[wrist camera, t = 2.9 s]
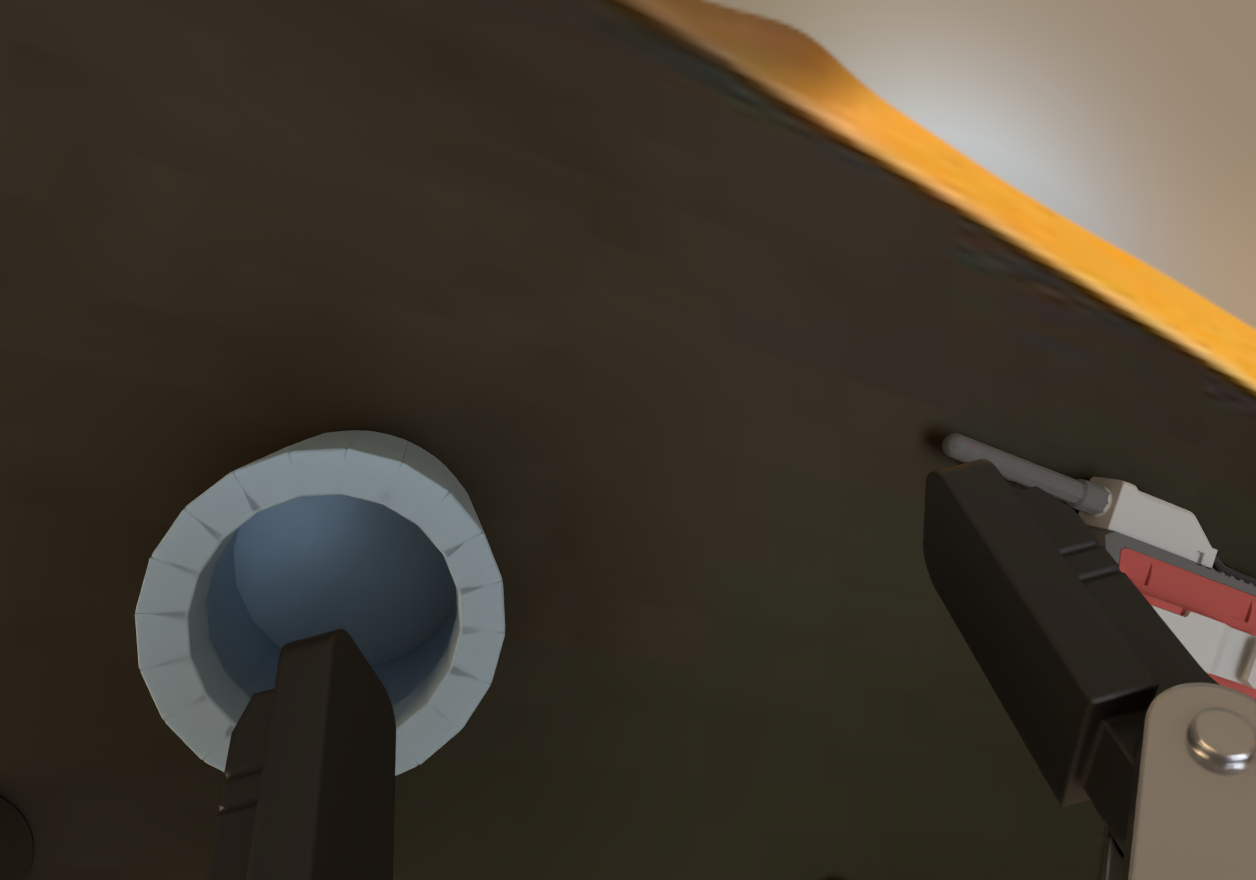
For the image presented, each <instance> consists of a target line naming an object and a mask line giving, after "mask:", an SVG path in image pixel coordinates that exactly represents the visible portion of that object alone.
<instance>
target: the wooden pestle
mask: <svg viewBox="0 0 1256 880" xmlns="http://www.w3.org/2000/svg"><path fill="white" fill-rule="evenodd" d="M32 859H33V839H32V835H31V831H30V829H29V827H28V824H27V822H26V821H25V819H24V818H23V816H22V815H21V814H20V813H19V811H18V810H17V809H16V808H15V807H13V806H12V805H11V804H10V803H8V802H7V801H5V800H4V799H2V798H0V880H25V879H26V877H27V875H28V873H29V870H30V867H31V864H32Z"/></svg>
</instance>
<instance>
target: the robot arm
mask: <svg viewBox="0 0 1256 880" xmlns="http://www.w3.org/2000/svg"><path fill="white" fill-rule="evenodd" d="M923 550H924V557H925V562H926V566H927V569H928V572H929V575H930V578H931V580H932V582H933V585H934V587H935V589H936V591H937V592H938V594H939V596H940V598H941V599H942V601H943V603H944V605H945V606H946V608H947V610H948V611H949V613H950V615H951V617H952V618H953V620H954V622H955V624H956V625H957V627H958V629H959V630H960V632H961V634H962V636H963V637H964V639H965V641H966V643H967V644H968V646H969V648H970V650H971V651H972V653H973V655H974V656H975V658H976V660H977V662H978V663H979V665H980V667H981V669H982V670H983V672H984V674H985V675H986V677H987V679H988V681H989V682H990V684H991V686H992V688H993V689H994V691H995V693H996V694H997V696H998V698H999V700H1000V701H1001V703H1002V705H1003V707H1004V708H1005V710H1006V712H1007V713H1008V715H1009V717H1010V719H1011V720H1012V722H1013V724H1014V726H1015V727H1016V729H1017V731H1018V732H1019V734H1020V736H1021V738H1022V739H1023V741H1024V743H1025V745H1026V746H1027V748H1028V750H1029V751H1030V753H1031V755H1032V757H1033V758H1034V760H1035V762H1036V764H1037V765H1038V767H1039V769H1040V771H1041V772H1042V774H1043V776H1044V777H1045V779H1046V781H1047V783H1048V784H1049V786H1050V788H1051V790H1052V791H1053V793H1054V795H1055V796H1056V798H1057V800H1058V802H1059V803H1060V805H1061V807H1065V806H1069V805H1073V804H1076V803H1080V802H1084V801H1087V800H1091V801H1092V803H1093V805H1094V806H1095V808H1096V810H1097V811H1098V813H1099V815H1100V816H1101V818H1102V820H1103V821H1104V823H1105V824H1106V825H1105V829H1104V833H1103V840H1102V848H1101V856H1100V864H1099V872H1098V879H1097V880H1256V699H1254V698H1252V697H1251V696H1249V695H1247V694H1244V693H1242V692H1240V691H1238V690H1235V689H1232V688H1229V687H1226V686H1222V685H1220V684H1218V683H1217V682H1216V681H1215V680H1214V679H1213V678H1211V677H1210V676H1209V675H1208V674H1207V673H1206V672H1205V671H1204V670H1203V668H1202V667H1201V666H1200V665H1199V664H1198V663H1197V661H1196V660H1195V659H1194V658H1193V656H1192V655H1191V654H1190V653H1189V651H1188V650H1187V649H1186V648H1185V647H1184V645H1183V644H1182V643H1181V642H1180V640H1179V639H1178V638H1177V637H1176V635H1175V634H1174V633H1173V632H1172V630H1171V629H1170V628H1169V627H1168V625H1167V624H1166V623H1165V622H1164V621H1163V619H1162V618H1161V617H1160V616H1159V614H1158V613H1157V612H1156V611H1155V609H1154V608H1153V607H1152V606H1151V604H1150V603H1149V602H1148V601H1147V599H1146V598H1145V597H1144V596H1143V594H1142V593H1141V592H1140V591H1139V590H1138V588H1137V587H1136V586H1135V585H1134V583H1133V582H1132V581H1131V580H1130V578H1129V577H1128V576H1127V575H1126V573H1125V572H1124V573H1122V572H1121V571H1120V568H1119V565H1118V563H1117V562H1116V561H1115V560H1114V559H1113V557H1112V556H1111V555H1110V554H1109V552H1108V551H1107V550H1106V549H1105V547H1104V546H1103V547H1101V546H1100V544H1099V540H1098V539H1097V537H1096V536H1095V535H1094V534H1093V532H1092V531H1091V530H1090V529H1089V528H1088V526H1087V525H1086V524H1085V523H1084V521H1083V520H1082V519H1081V518H1080V516H1079V515H1078V514H1077V513H1076V511H1075V510H1074V509H1073V508H1071V507H1069V506H1068V505H1066V504H1065V503H1063V502H1061V501H1060V500H1058V499H1057V498H1055V497H1053V496H1052V495H1050V494H1049V493H1047V492H1045V491H1044V490H1042V489H1041V488H1039V487H1037V486H1034V487H1031V488H1027V489H1023V490H1019V491H1016V492H1014V490H1013V489H1012V488H1011V486H1010V485H1009V484H1008V482H1007V481H1006V480H1005V478H1004V477H1003V476H1002V474H1001V473H1000V472H999V470H998V469H997V468H996V466H995V465H994V464H993V463H992V462H991V461H989V460H987V459H979V460H975V461H972V462H968V463H964V464H960V465H957V466H953V467H949V468H945V469H942V470H938V471H934V472H931V473H929V474H928V476H927V479H926V493H925V515H924V537H923ZM395 764H396V723H395V716H394V711H393V707H392V703H391V700H390V697H389V695H388V692H387V690H386V688H385V687H384V685H383V684H382V682H381V681H380V679H379V678H378V676H377V675H376V673H375V672H374V670H373V669H372V667H371V666H370V664H369V663H368V661H367V660H366V658H365V657H364V655H363V654H362V652H361V651H360V649H359V648H358V646H357V645H356V643H355V642H354V641H353V639H352V638H351V636H350V635H349V633H348V632H347V631H346V630H344V629H337V630H333V631H329V632H326V633H322V634H318V635H315V636H311V637H307V638H303V639H300V640H296V641H292V642H289V643H286V644H285V645H284V646H283V648H282V649H281V652H280V656H279V661H278V668H277V674H276V681H275V688H274V689H270V690H266V691H263V692H259V693H255V694H253V696H252V697H251V699H250V701H249V703H248V705H247V706H246V708H245V710H244V712H243V714H242V715H241V717H240V719H239V721H238V722H237V724H236V726H235V728H234V730H233V731H232V733H231V739H230V744H229V750H228V755H227V760H226V766H225V771H224V774H225V777H226V779H225V781H223V782H222V787H221V793H220V798H219V804H218V807H219V810H220V812H219V814H217V815H216V820H215V825H214V831H213V836H212V842H211V847H210V853H209V858H208V863H207V869H206V874H205V880H393V845H394V804H395Z"/></svg>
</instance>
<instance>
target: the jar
mask: <svg viewBox="0 0 1256 880" xmlns="http://www.w3.org/2000/svg"><path fill="white" fill-rule="evenodd" d="M135 611H136V613H135V623H136V636H137V649H138V662H139V669H141V674H142V676H143V678H144V680H145V683H146V685H147V687H148V689H149V691H150V694H151V696H152V698H153V700H154V702H155V704H156V707H157V709H158V711H159V713H160V715H161V718H162V719H163V720H164V719H165V723H166V724H167V725H168V726H169V727H170V728H171V729H172V730H173V731H174V732H175V733H176V734H177V735H178V736H179V737H180V738H181V739H182V740H183V741H184V742H185V743H186V744H187V746H188V747H189V748H190V749H191V750H192V751H193V752H194V753H195V754H196V755H197V756H198V757H199V758H200V759H202V760H203V759H204V762H205V763H207V764H209V765H211V766H213V767H215V768H217V769H219V770H221V771H223V772H224V771H225V766H226V760H227V755H228V750H229V744H230V739H231V733H232V731H233V730H234V728H235V726H236V724H237V722H238V721H239V719H240V717H241V715H242V714H243V712H244V710H245V708H246V706H247V705H248V703H249V701H250V699H251V697H252V696H253V694H255V693H259V692H263V691H266V690H270V689H274V688H275V681H276V674H277V668H278V661H279V656H280V652H281V649H282V648H283V646H284V645H285V644H286V643H289V642H292V641H296V640H300V639H303V638H307V637H311V636H315V635H318V634H322V633H326V632H329V631H333V630H337V629H344V630H346V631H347V632H348V633H349V635H350V636H351V638H352V639H353V641H354V642H355V643H356V645H357V646H358V648H359V649H360V651H361V652H362V654H363V655H364V657H365V658H366V660H367V661H368V663H369V664H370V666H371V667H372V669H373V670H374V672H375V673H376V675H377V676H378V678H379V679H380V681H381V682H382V684H383V685H384V687H385V688H386V690H387V692H388V695H389V697H390V700H391V703H392V707H393V711H394V716H395V723H396V764H395V776H396V775H399V774H401V773H403V772H405V771H408V770H410V769H412V768H414V767H417V766H418V764H419V765H420V764H422V763H423V762H424V761H425V760H427V759H428V758H429V757H430V756H431V755H432V754H434V753H435V752H436V751H437V750H438V749H440V748H441V747H442V746H443V745H444V744H445V743H447V742H448V741H449V740H450V739H451V738H452V737H454V736H455V735H456V734H457V733H458V732H460V730H461V729H462V728H463V727H464V726H465V724H466V723H467V721H468V720H469V718H470V716H471V715H472V713H473V712H474V710H475V709H476V707H477V706H478V704H479V702H480V701H481V699H482V698H483V696H484V695H485V693H486V692H487V690H488V689H489V687H490V685H491V683H492V680H493V677H494V673H495V669H496V666H497V662H498V658H499V655H500V651H501V648H502V644H503V640H504V637H505V613H504V592H503V582H502V577H501V574H500V572H499V569H498V566H497V564H496V561H495V559H494V556H493V554H492V551H491V548H490V546H489V543H488V541H487V538H486V536H485V533H484V531H483V528H482V526H481V524H480V521H479V519H478V517H477V514H476V512H475V509H474V507H473V505H472V502H471V500H470V498H469V495H468V493H467V492H466V490H465V489H464V488H463V486H462V485H461V484H460V483H459V481H458V480H457V478H456V477H455V476H454V475H453V474H452V473H451V471H450V470H449V469H448V468H447V467H446V466H445V465H444V464H443V463H442V462H441V461H440V460H438V459H437V458H436V457H435V456H433V455H432V454H430V453H429V452H427V451H426V450H424V449H423V448H421V447H419V446H417V445H415V444H413V443H411V442H409V441H407V440H405V439H402V438H399V437H396V436H392V435H389V434H384V433H379V432H374V431H367V430H365V431H361V430H350V431H337V432H328V433H323V434H320V435H318V436H315V437H312V438H309V439H306V440H304V441H301V442H298V443H296V444H293V445H290V446H287V447H285V448H283V449H281V450H278V451H276V452H274V453H272V454H270V455H267V456H265V457H263V458H261V459H258V460H256V461H254V462H252V463H249V464H247V465H245V466H243V467H241V468H238V469H236V470H234V471H232V472H230V473H229V474H227V475H226V476H225V477H223V478H222V479H221V480H219V481H218V482H217V483H216V484H214V485H213V486H212V487H210V488H209V489H208V490H206V491H205V492H204V493H202V494H201V495H200V496H199V497H197V498H196V499H195V500H193V501H192V502H191V503H189V504H188V505H187V506H186V507H185V509H183V510H182V511H181V513H180V514H179V516H178V517H177V519H176V520H175V522H174V523H173V525H172V526H171V527H170V529H169V530H168V532H167V533H166V535H165V536H164V538H163V539H162V540H161V542H160V543H159V545H158V546H157V548H156V549H155V551H154V552H153V554H152V557H151V558H150V559H149V563H148V567H147V570H146V574H145V577H144V581H143V585H142V588H141V592H140V595H139V599H138V603H137V606H136V610H135Z"/></svg>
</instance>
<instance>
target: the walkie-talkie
mask: <svg viewBox="0 0 1256 880" xmlns="http://www.w3.org/2000/svg"><path fill="white" fill-rule="evenodd" d="M942 450H943V452H944V453H945V454H946V455H947V456H948V457H951V458H953V459H956V460H958V461H961V462H964V463H968V462H972V461H975V460H979V459H987V460H989V461H991V462H992V463H993V464H994V465H995V466H996V468H997V469H998V470H999V472H1000V473H1001V474H1002V476H1003V477H1004V478H1005V479H1008V480H1010V481H1013V482H1015V483H1018V484H1021V485H1023V486H1026V487H1028V488H1031V487H1034V486H1037V487H1039V488H1041V489H1042V490H1044V491H1045V492H1047V493H1049V494H1050V495H1052V496H1053V497H1055V498H1057V499H1059V500H1062V501H1065V502H1066V504H1067V505H1068V506H1069V507H1072V508H1074V509H1077V510H1080V511H1079V514H1078V515H1079V516H1080V518H1081V519H1082V520H1083V521H1084V523H1085V524H1086V525H1087V526H1088V528H1089V529H1090V530H1091V531H1092V532H1093V534H1094V535H1095V536H1096V537H1097V539H1098V540H1099V544H1100V546H1101V547H1103V546H1104V547H1105V549H1106V550H1107V551H1108V552H1109V554H1110V555H1111V556H1112V557H1113V559H1114V560H1115V561H1116V562H1117V563H1118V565H1119V568H1120V571H1121V572H1122V573H1124V572H1125V573H1126V575H1127V576H1128V577H1129V578H1130V580H1131V581H1132V582H1133V583H1134V585H1135V586H1136V587H1137V588H1138V590H1139V591H1140V592H1141V593H1142V594H1143V596H1144V597H1145V598H1146V599H1147V601H1148V602H1149V603H1150V604H1151V606H1152V607H1153V608H1154V609H1155V611H1156V612H1157V613H1158V614H1159V616H1160V617H1161V618H1162V619H1163V621H1164V622H1165V623H1166V624H1167V625H1168V627H1169V628H1170V629H1171V630H1172V632H1173V633H1174V634H1175V635H1176V637H1177V638H1178V639H1179V640H1180V642H1181V643H1182V644H1183V645H1184V647H1185V648H1186V649H1187V650H1188V651H1189V653H1190V654H1191V655H1192V656H1193V658H1194V659H1195V660H1196V661H1197V663H1198V664H1199V665H1200V666H1201V667H1202V668H1203V670H1204V671H1205V672H1206V673H1207V674H1208V675H1209V676H1210V677H1211V678H1213V679H1214V680H1215V681H1216V682H1217V683H1218V684H1220V685H1222V686H1226V687H1229V688H1232V689H1235V690H1238V691H1240V692H1242V693H1244V694H1247V695H1249V696H1251V697H1252V698H1254V699H1256V579H1255V578H1252V577H1249V576H1247V575H1244V574H1242V573H1239V572H1237V571H1235V570H1232V569H1230V568H1228V567H1226V566H1225V565H1224V564H1223V563H1222V562H1221V560H1220V559H1219V558H1218V557H1217V556H1216V553H1217V550H1216V549H1213V548H1212V547H1211V545H1210V543H1209V542H1208V540H1207V538H1206V536H1205V534H1204V532H1203V530H1202V528H1201V526H1200V524H1199V523H1198V521H1197V519H1196V517H1195V515H1194V514H1193V513H1192V512H1190V511H1188V510H1185V509H1183V508H1180V507H1178V506H1176V505H1173V504H1171V503H1168V502H1166V501H1163V500H1161V499H1158V498H1156V497H1153V496H1151V495H1148V494H1146V493H1143V492H1141V491H1138V489H1137V487H1136V486H1135V485H1133V484H1130V483H1127V482H1125V481H1122V480H1117V479H1109V478H1101V477H1092V478H1091V479H1090V481H1087V480H1084V479H1073V478H1071V477H1068V476H1065V475H1063V474H1060V473H1058V472H1055V471H1053V470H1050V469H1048V468H1045V467H1042V466H1040V465H1037V464H1035V463H1032V462H1030V461H1027V460H1025V459H1022V458H1019V457H1017V456H1014V455H1012V454H1009V453H1007V452H1004V451H1002V450H999V449H996V448H994V447H991V446H989V445H986V444H984V443H981V442H979V441H976V440H974V439H971V438H968V437H966V436H963V435H961V434H958V433H953V434H950V435H948V436H947V437H946V438H945V439H944V440H943V442H942Z"/></svg>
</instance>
